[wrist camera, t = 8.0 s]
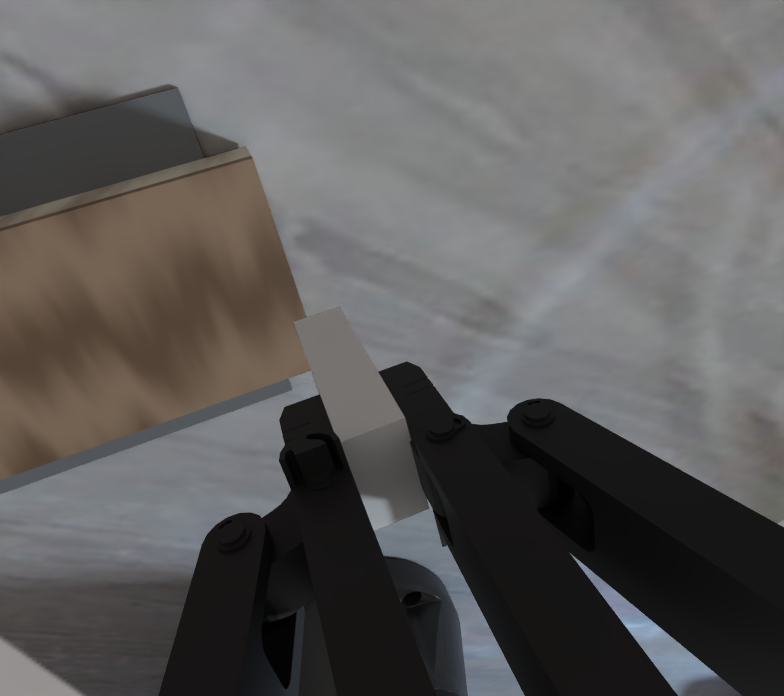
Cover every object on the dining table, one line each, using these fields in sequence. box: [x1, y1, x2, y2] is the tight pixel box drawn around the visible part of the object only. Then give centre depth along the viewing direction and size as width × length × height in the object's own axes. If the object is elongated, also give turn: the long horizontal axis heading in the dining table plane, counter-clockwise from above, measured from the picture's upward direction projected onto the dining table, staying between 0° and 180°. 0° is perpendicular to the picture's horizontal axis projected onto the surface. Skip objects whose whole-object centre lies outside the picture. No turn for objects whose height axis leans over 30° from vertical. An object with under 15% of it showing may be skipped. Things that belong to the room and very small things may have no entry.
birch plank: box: [0, 146, 311, 480], centre depth 26 cm, size 10×4×16 cm
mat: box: [0, 88, 292, 494], centre depth 27 cm, size 16×16×1 cm
